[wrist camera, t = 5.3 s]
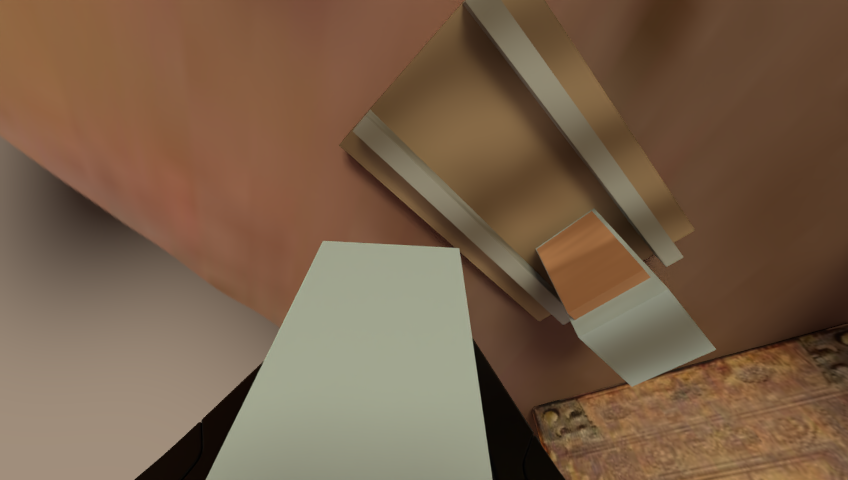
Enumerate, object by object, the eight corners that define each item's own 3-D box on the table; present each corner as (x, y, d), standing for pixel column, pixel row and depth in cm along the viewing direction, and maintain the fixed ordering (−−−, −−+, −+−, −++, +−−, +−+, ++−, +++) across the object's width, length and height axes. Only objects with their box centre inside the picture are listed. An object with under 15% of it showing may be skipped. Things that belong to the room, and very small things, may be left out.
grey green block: (442, 368, 13) (455, 658, 7) (338, 363, 13) (261, 654, 7) (459, 248, 10) (507, 581, 4) (323, 241, 10) (160, 570, 4)
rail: (681, 220, 21) (809, 316, 14) (534, 310, 25) (575, 417, 18) (504, -47, 14) (579, -119, 7) (344, 138, 18) (292, 206, 11)
